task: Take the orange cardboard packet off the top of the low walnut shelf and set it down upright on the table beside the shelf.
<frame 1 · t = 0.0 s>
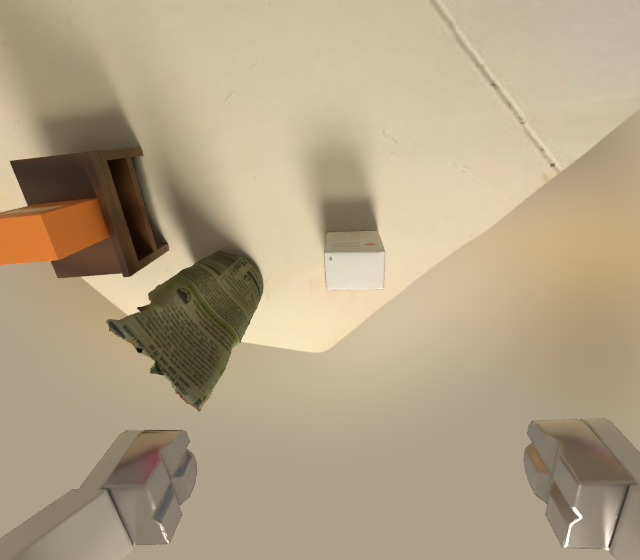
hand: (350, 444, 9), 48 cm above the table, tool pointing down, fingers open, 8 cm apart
small box: (352, 247, 57), on the table
shelf: (120, 204, 57), on the table
packet: (76, 219, 47), point 10 cm above the table, touching shelf
pouch: (229, 279, 61), on the table
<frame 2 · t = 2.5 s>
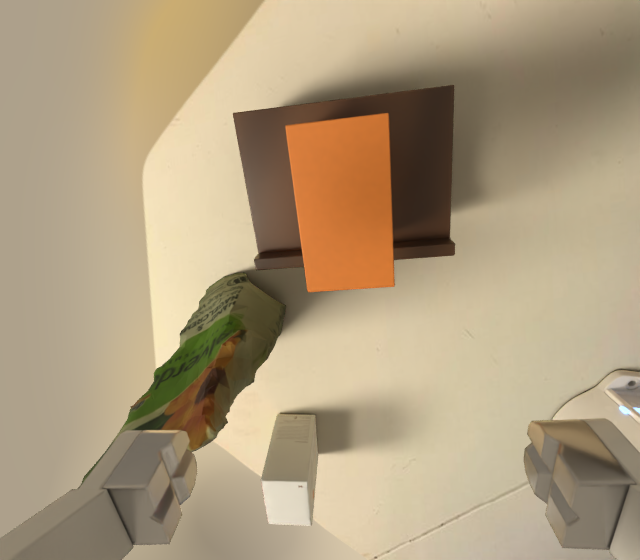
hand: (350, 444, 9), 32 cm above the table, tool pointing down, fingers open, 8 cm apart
small box: (298, 433, 52), on the table
shelf: (347, 170, 37), on the table
packet: (346, 184, 28), point 10 cm above the table, touching shelf
pouch: (244, 306, 45), on the table
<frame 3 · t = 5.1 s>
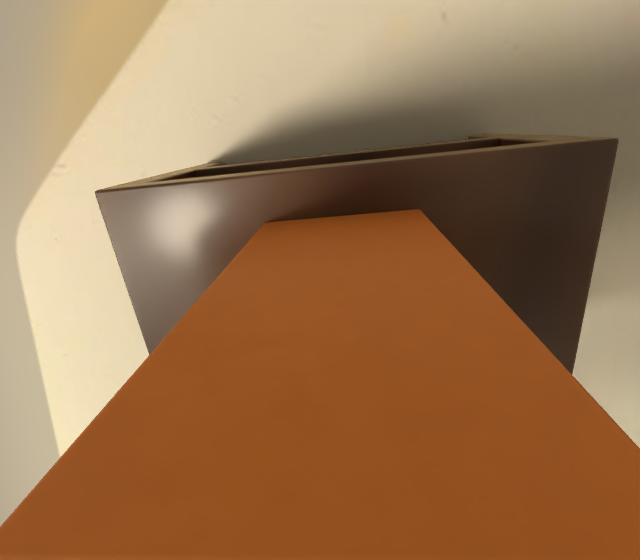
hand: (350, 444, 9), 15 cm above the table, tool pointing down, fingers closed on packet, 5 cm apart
shelf: (349, 251, 22), on the table
packet: (350, 336, 13), point 10 cm above the table, touching gripper, shelf
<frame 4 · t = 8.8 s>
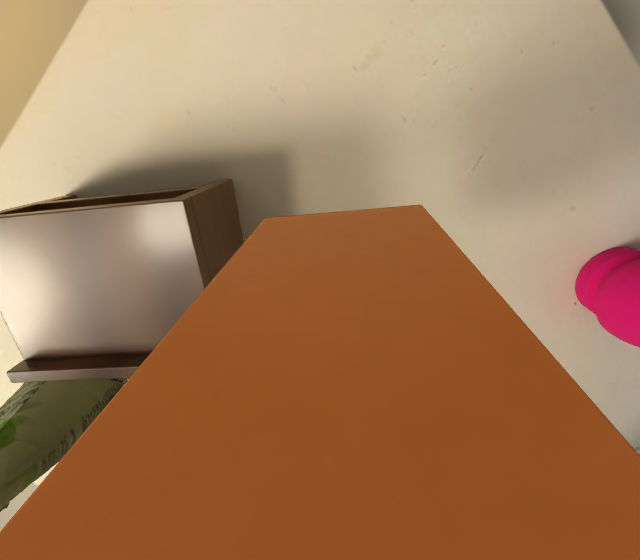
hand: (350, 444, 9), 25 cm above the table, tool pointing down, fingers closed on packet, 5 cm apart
shelf: (163, 251, 34), on the table
pepper mill: (610, 279, 33), on the table
packet: (350, 332, 13), point 20 cm above the table, touching gripper
pouch: (85, 381, 42), on the table
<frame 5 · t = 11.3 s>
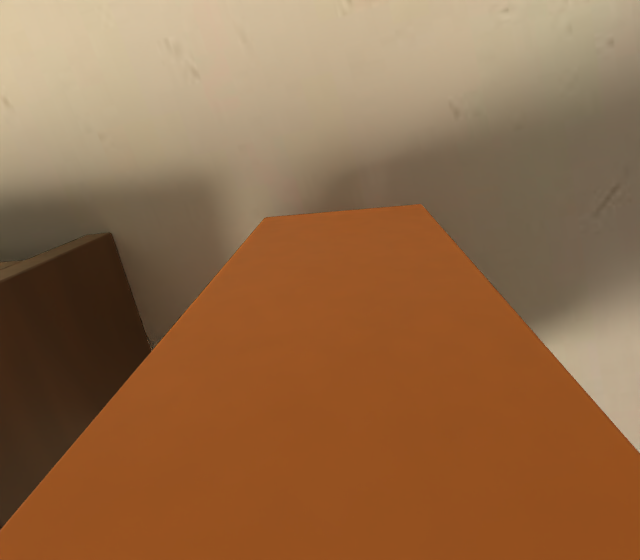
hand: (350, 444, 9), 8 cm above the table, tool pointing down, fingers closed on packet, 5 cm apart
shelf: (9, 354, 19), on the table
packet: (350, 331, 13), point 4 cm above the table, touching gripper
when the fingers open (5 cm above the table, at t = 12.8 s): packet stays where it is, on the table.
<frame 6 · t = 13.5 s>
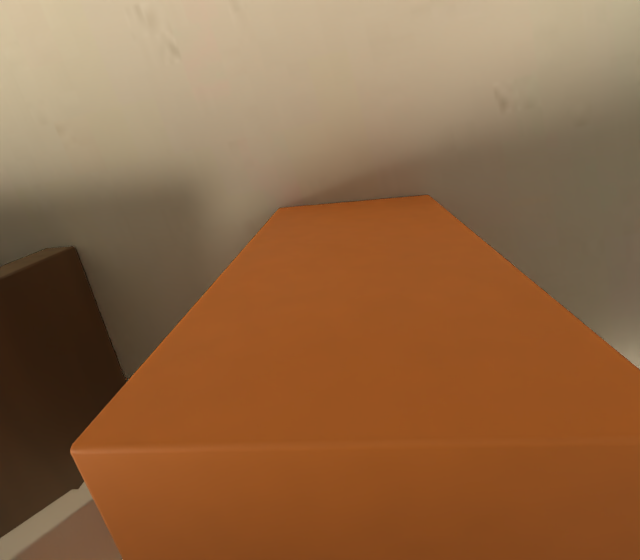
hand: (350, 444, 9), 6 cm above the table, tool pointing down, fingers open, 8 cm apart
packet: (359, 320, 14), on the table
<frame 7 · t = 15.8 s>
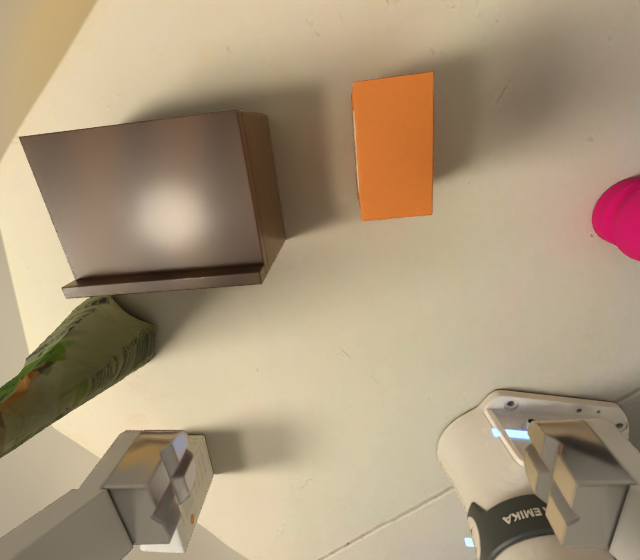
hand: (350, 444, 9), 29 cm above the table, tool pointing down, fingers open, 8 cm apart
small box: (191, 453, 51), on the table
shelf: (199, 189, 36), on the table
pepper mill: (625, 210, 34), on the table
packet: (381, 145, 33), on the table
pouch: (117, 326, 43), on the table
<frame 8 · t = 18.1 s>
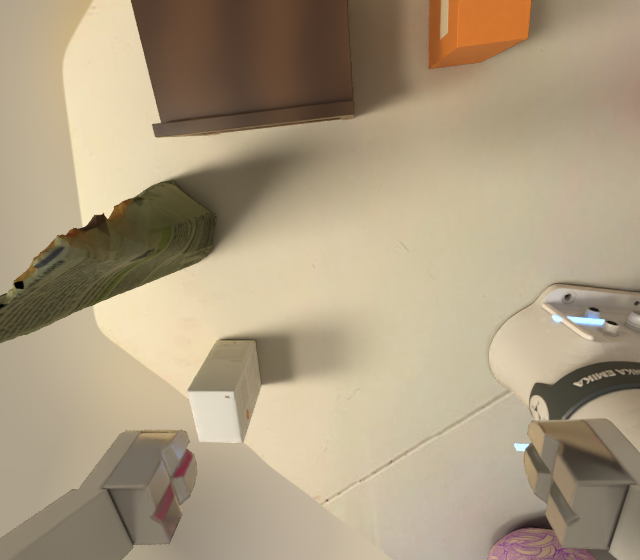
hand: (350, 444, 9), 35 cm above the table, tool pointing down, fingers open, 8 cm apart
bowl of food: (526, 541, 61), on the table
small box: (240, 362, 51), on the table
shelf: (269, 63, 36), on the table
packet: (456, 10, 34), on the table
pouch: (176, 220, 44), on the table
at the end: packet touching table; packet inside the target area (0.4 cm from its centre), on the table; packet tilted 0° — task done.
